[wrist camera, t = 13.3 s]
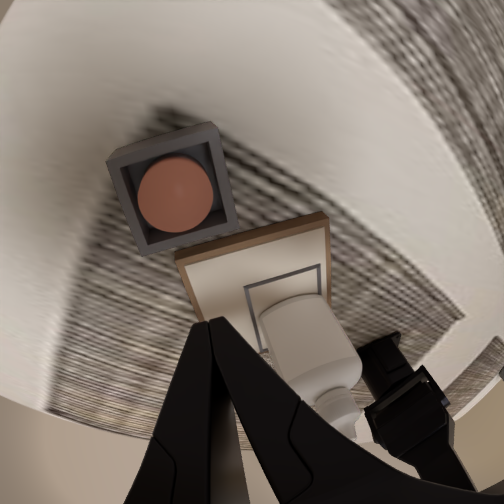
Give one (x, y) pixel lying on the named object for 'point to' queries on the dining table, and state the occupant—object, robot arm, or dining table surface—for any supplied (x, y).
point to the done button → (175, 193)
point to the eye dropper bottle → (314, 357)
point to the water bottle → (502, 373)
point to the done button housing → (146, 151)
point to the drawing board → (257, 272)
